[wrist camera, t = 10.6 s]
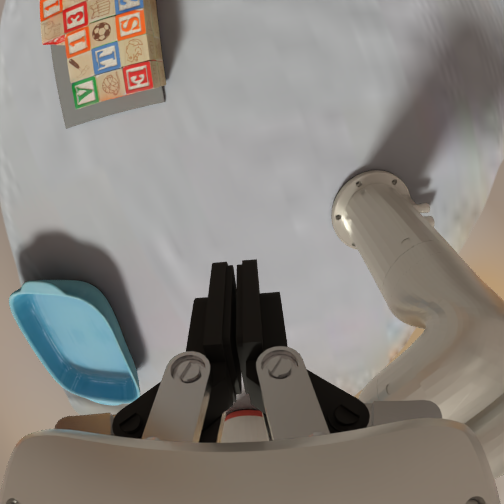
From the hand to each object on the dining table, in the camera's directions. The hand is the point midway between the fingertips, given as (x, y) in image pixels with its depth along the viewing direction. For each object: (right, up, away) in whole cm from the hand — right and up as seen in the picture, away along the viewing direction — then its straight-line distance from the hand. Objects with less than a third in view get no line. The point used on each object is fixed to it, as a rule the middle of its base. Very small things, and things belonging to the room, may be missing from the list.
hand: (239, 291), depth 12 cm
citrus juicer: (0, -43, +64) cm, 78 cm away
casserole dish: (-33, -15, +43) cm, 56 cm away
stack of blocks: (-10, +28, +11) cm, 32 cm away
